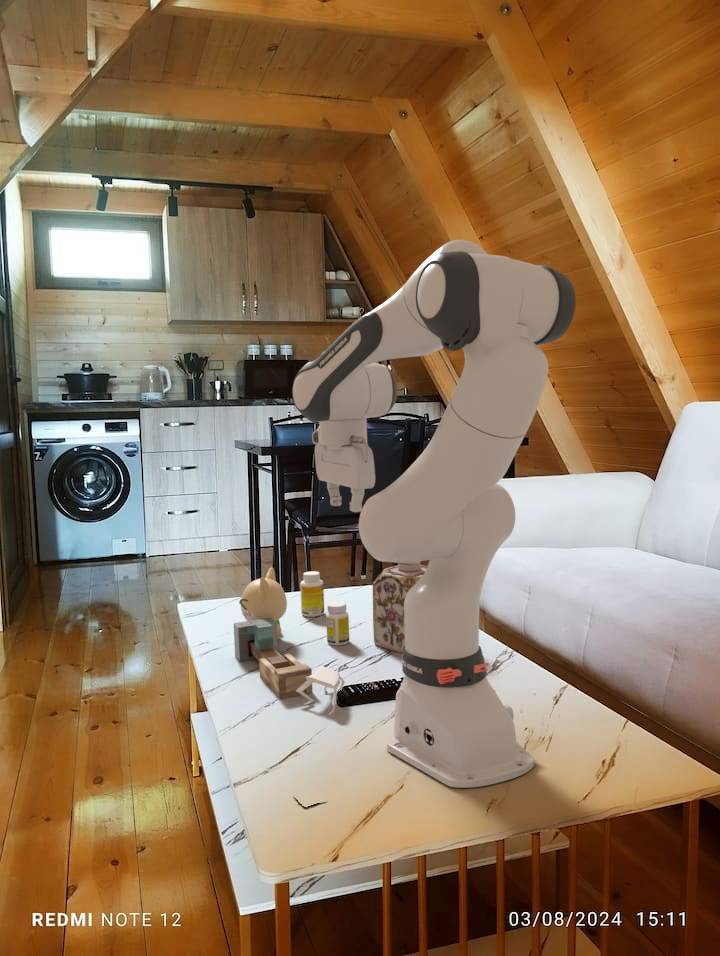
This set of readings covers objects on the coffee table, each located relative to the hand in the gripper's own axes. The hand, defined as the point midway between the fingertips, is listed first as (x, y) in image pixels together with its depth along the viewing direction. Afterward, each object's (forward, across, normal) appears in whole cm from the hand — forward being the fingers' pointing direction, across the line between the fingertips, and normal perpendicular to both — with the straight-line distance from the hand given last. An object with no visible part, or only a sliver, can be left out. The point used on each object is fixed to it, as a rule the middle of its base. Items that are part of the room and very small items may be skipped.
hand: (345, 508), depth 147 cm
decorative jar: (+31, +7, -17) cm, 36 cm away
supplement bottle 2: (+31, +16, -4) cm, 35 cm away
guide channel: (+31, -2, +14) cm, 34 cm away
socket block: (+31, +16, +14) cm, 38 cm away
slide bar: (+30, +9, +14) cm, 34 cm away
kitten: (+31, +26, +9) cm, 42 cm away
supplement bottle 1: (+31, +39, -7) cm, 50 cm away
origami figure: (+32, -14, +11) cm, 36 cm away
